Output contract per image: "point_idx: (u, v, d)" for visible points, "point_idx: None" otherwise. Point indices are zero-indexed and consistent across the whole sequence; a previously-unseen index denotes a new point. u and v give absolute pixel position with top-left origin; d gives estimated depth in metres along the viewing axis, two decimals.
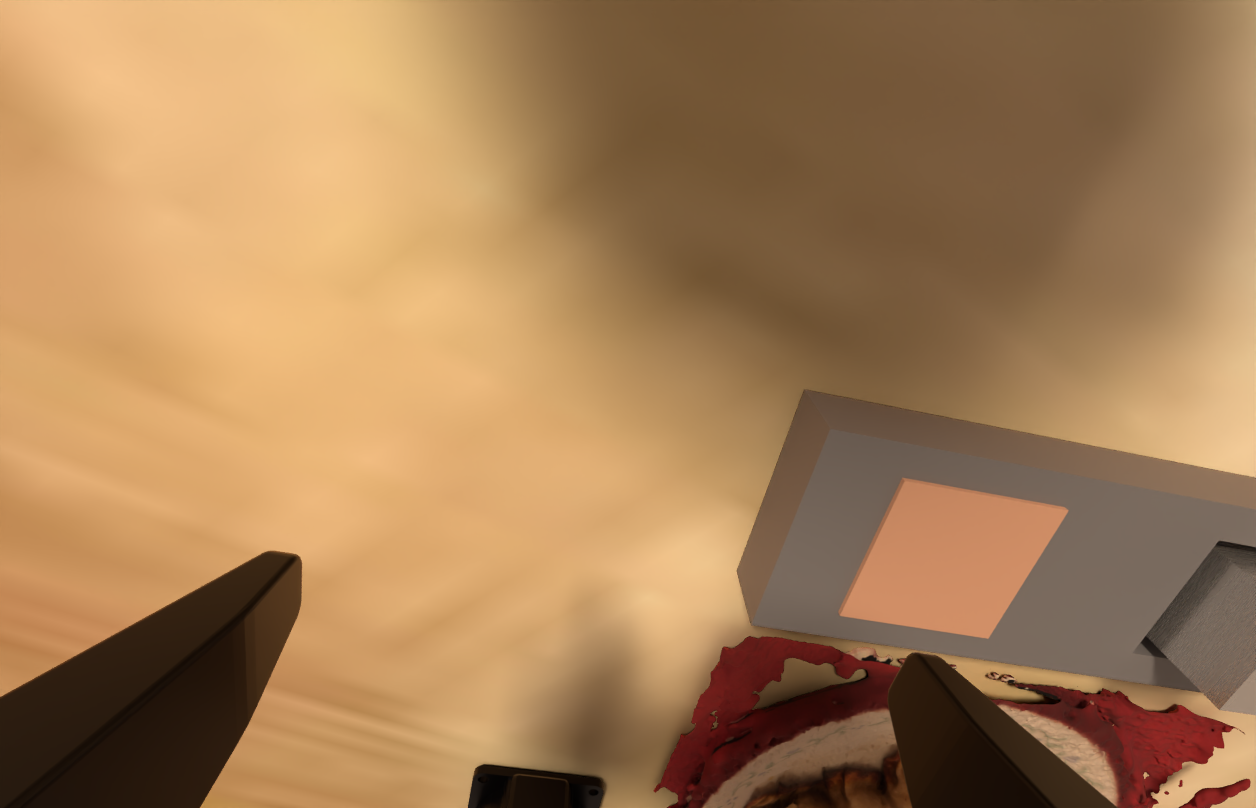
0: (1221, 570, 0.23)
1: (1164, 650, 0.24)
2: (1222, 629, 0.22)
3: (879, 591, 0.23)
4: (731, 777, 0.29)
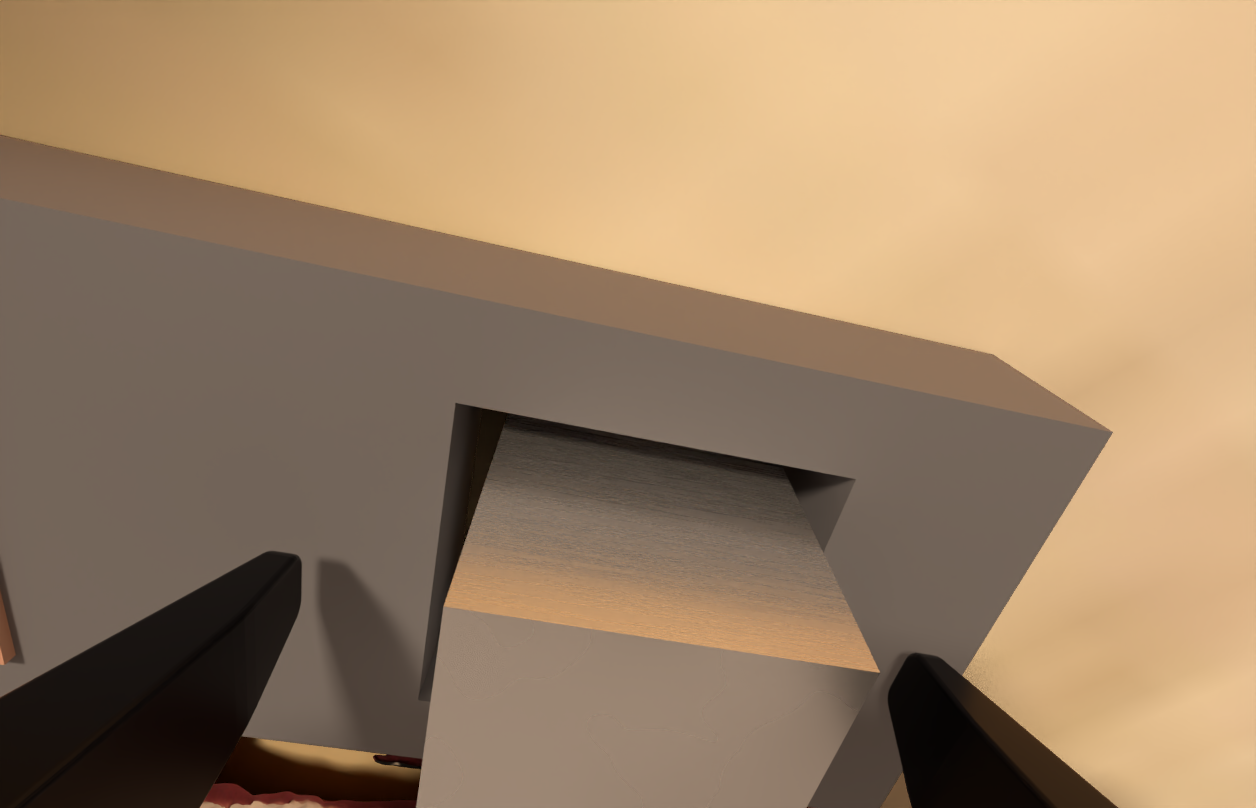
0: None
1: None
2: None
3: None
4: None
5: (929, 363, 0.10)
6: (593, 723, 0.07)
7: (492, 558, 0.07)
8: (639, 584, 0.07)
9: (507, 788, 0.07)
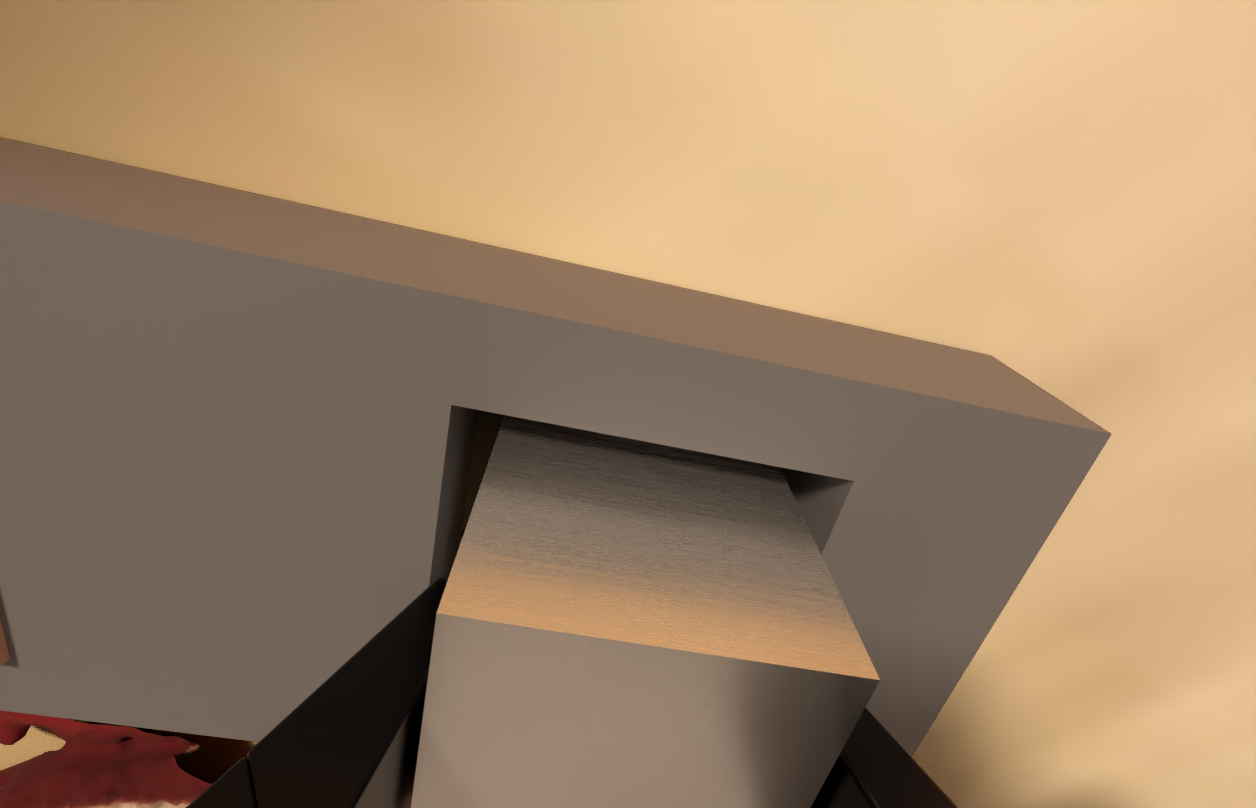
0: None
1: None
2: None
3: None
4: None
5: (927, 364, 0.10)
6: (589, 730, 0.07)
7: (486, 563, 0.07)
8: (634, 589, 0.07)
9: (503, 797, 0.07)
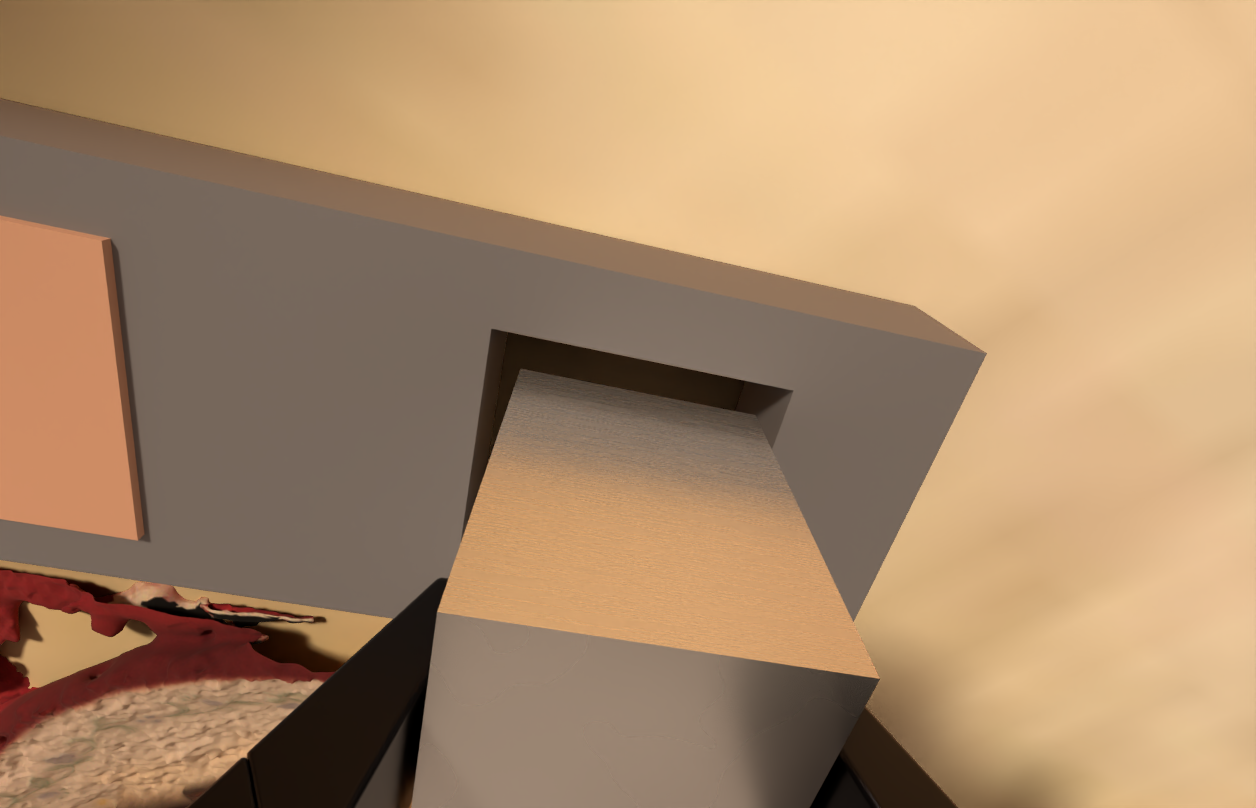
0: None
1: None
2: None
3: None
4: None
5: (855, 306, 0.13)
6: (589, 729, 0.07)
7: (487, 562, 0.07)
8: (635, 589, 0.07)
9: (502, 795, 0.07)
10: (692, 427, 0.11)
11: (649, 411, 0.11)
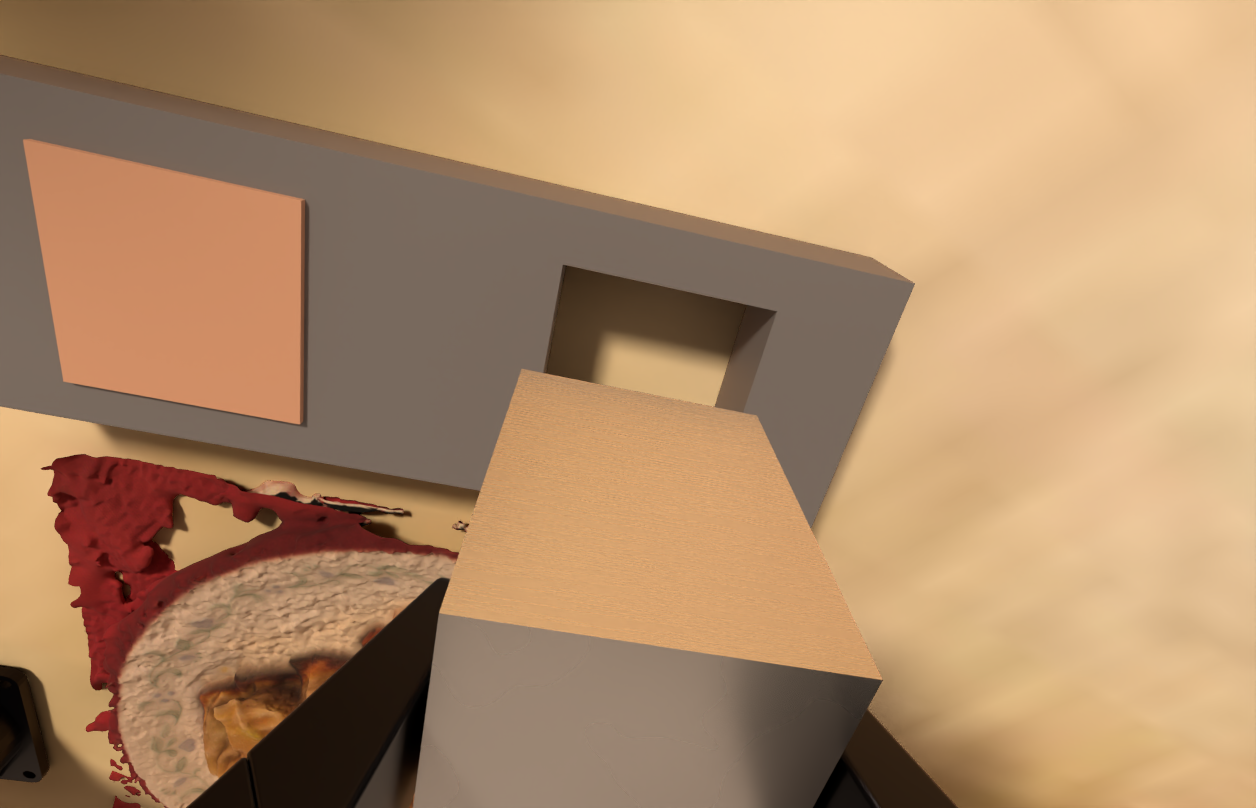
0: None
1: None
2: None
3: (97, 340, 0.16)
4: (126, 657, 0.23)
5: (823, 253, 0.17)
6: (592, 731, 0.07)
7: (489, 563, 0.07)
8: (637, 589, 0.07)
9: (504, 797, 0.07)
10: (694, 427, 0.11)
11: (650, 411, 0.11)
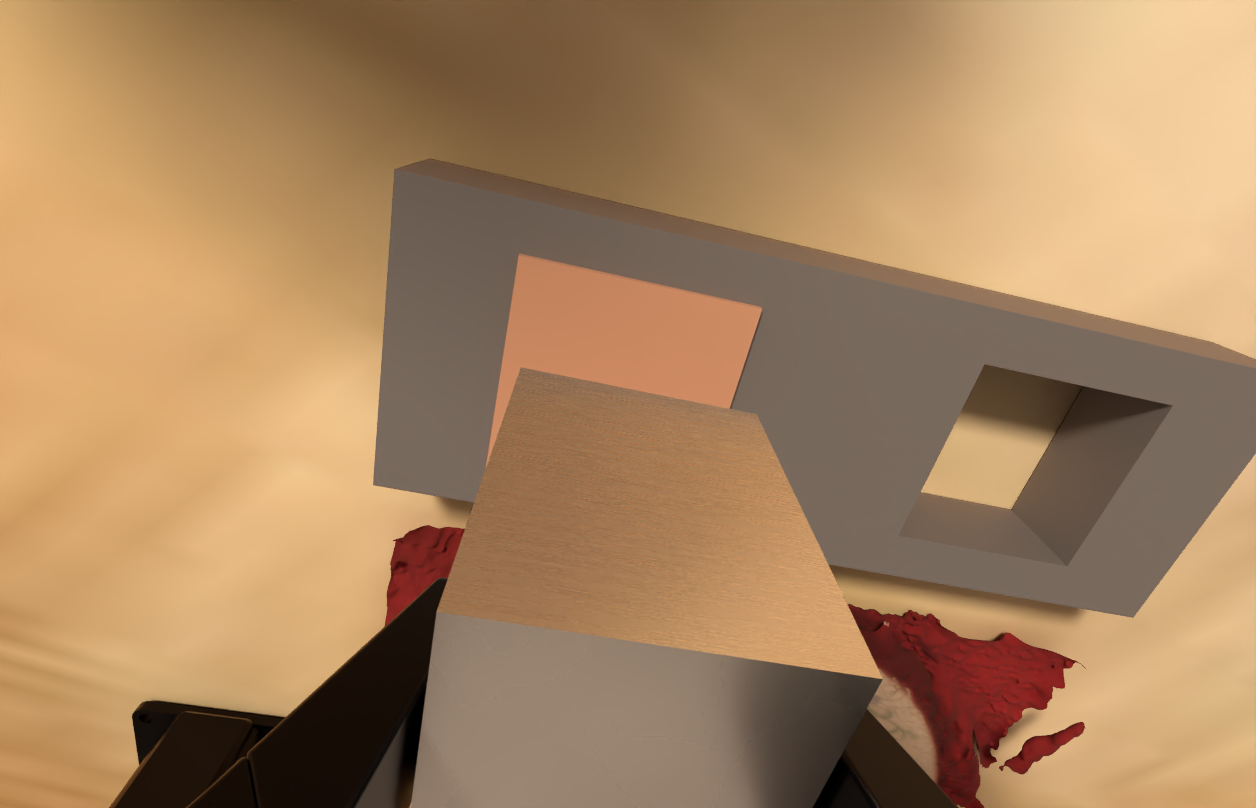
0: None
1: None
2: None
3: None
4: None
5: (1197, 346, 0.18)
6: (591, 730, 0.06)
7: (486, 561, 0.07)
8: (636, 588, 0.07)
9: (503, 796, 0.07)
10: (693, 425, 0.11)
11: (650, 410, 0.11)
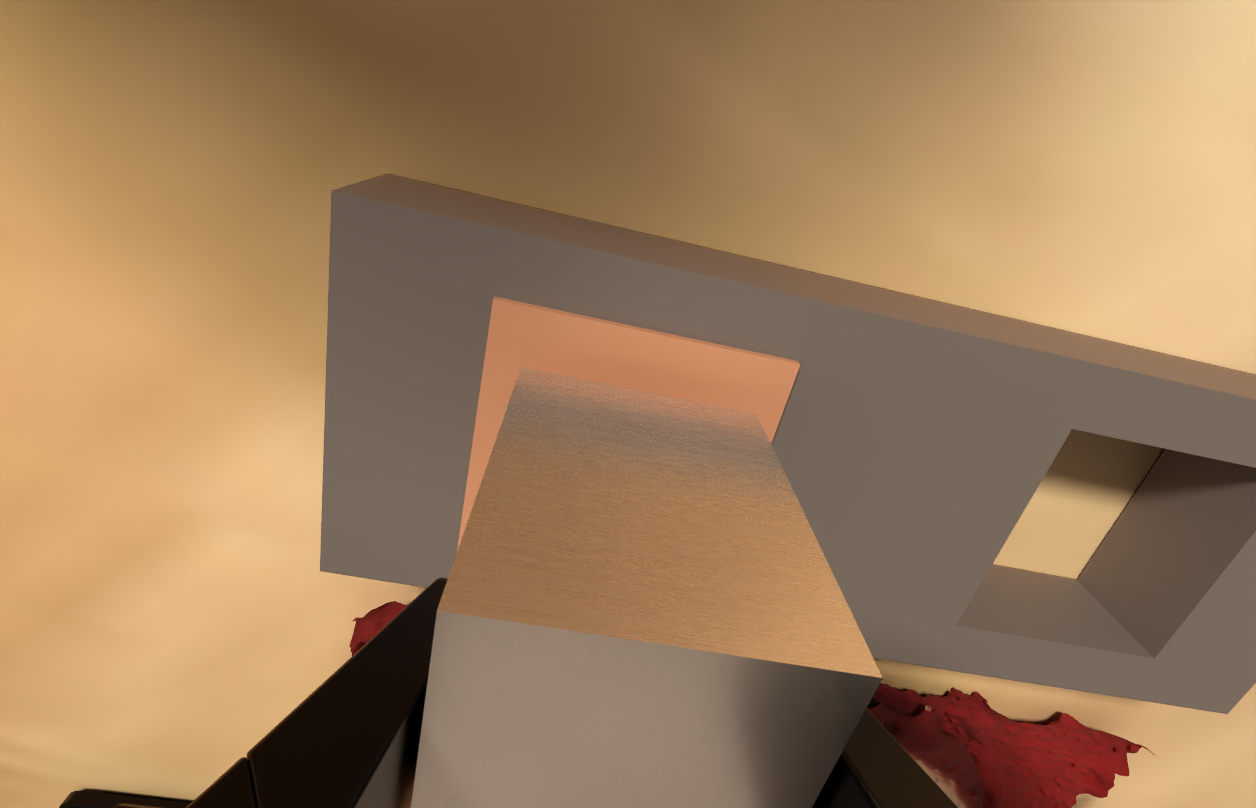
0: None
1: None
2: None
3: None
4: None
5: None
6: (591, 728, 0.07)
7: (487, 561, 0.07)
8: (636, 587, 0.07)
9: (503, 794, 0.07)
10: (693, 425, 0.11)
11: (650, 409, 0.11)
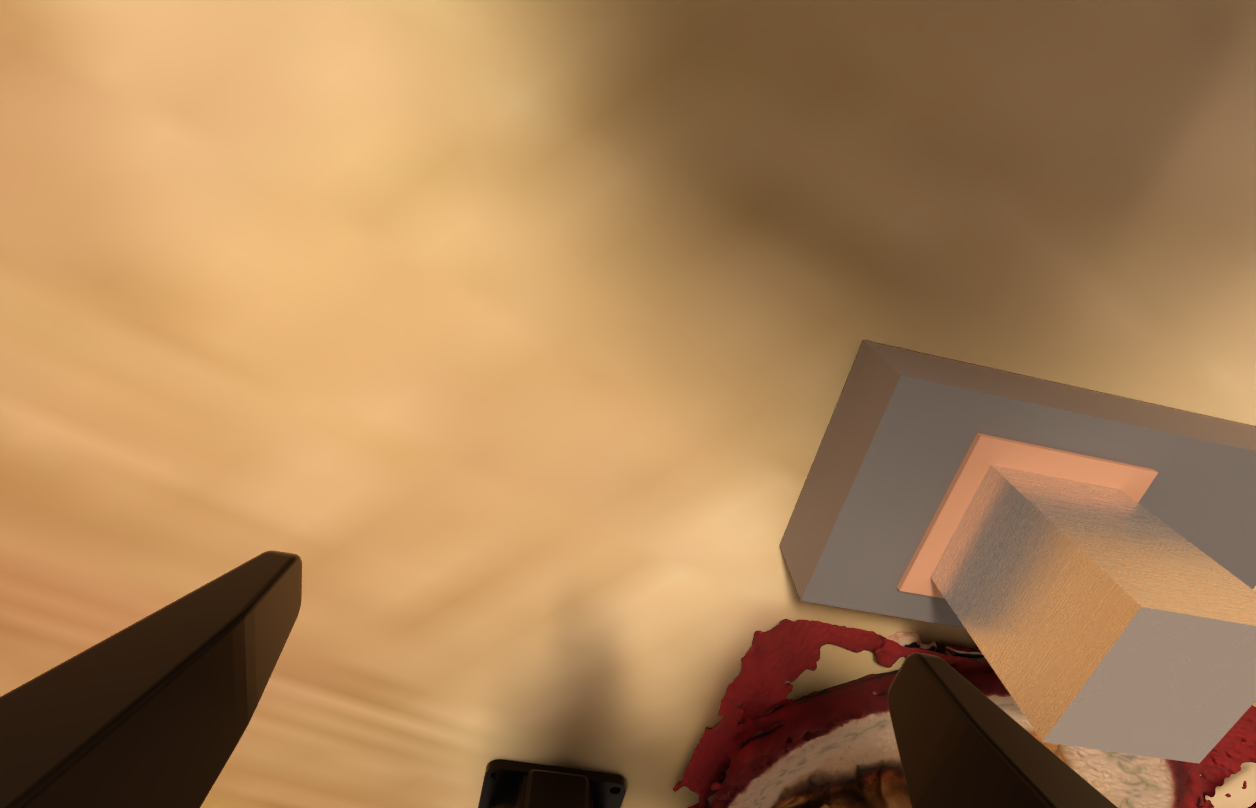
0: (1052, 545, 0.16)
1: (989, 656, 0.18)
2: (1049, 628, 0.16)
3: None
4: (760, 774, 0.27)
5: None
6: (1175, 659, 0.14)
7: (1127, 584, 0.14)
8: (1189, 596, 0.15)
9: (1119, 693, 0.15)
10: (1104, 500, 0.19)
11: (1075, 491, 0.19)
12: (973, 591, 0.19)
